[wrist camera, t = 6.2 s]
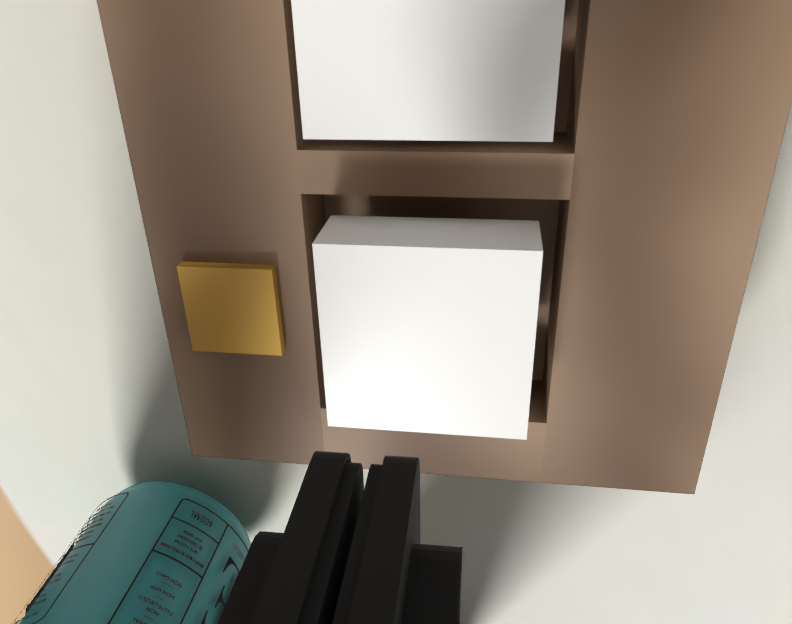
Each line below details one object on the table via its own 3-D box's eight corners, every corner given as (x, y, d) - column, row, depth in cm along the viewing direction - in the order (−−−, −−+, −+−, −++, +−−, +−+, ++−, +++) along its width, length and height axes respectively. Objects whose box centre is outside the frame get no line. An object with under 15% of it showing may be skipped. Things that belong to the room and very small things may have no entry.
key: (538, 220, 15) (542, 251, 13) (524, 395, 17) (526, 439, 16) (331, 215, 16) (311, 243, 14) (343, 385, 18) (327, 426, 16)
